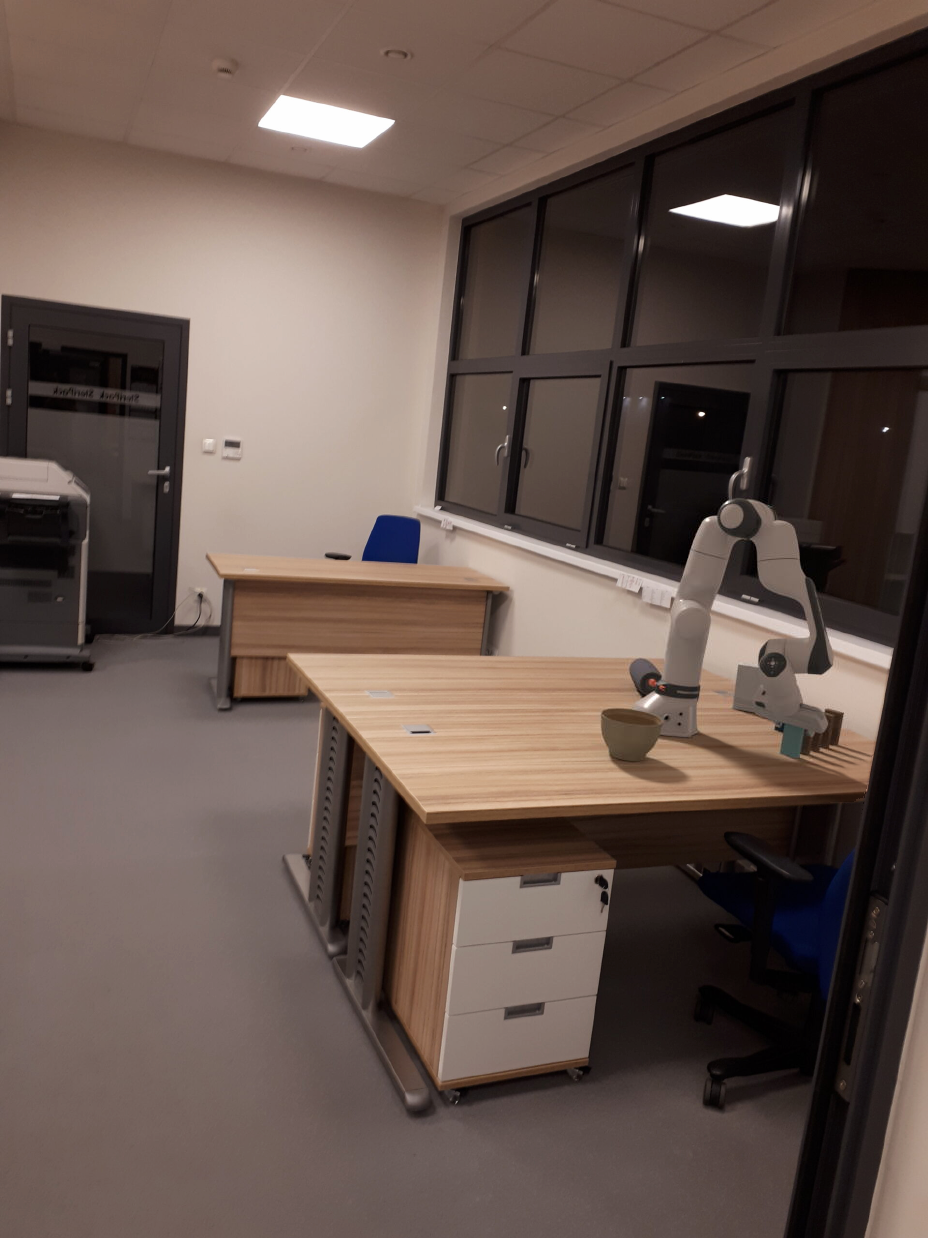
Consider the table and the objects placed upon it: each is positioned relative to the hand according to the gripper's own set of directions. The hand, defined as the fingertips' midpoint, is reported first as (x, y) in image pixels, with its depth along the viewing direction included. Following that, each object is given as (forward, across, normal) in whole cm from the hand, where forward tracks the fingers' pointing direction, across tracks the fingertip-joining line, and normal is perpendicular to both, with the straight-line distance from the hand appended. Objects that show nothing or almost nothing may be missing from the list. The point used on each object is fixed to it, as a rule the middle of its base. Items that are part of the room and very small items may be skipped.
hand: (795, 730), depth 266 cm
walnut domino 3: (+19, 0, -8) cm, 20 cm away
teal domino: (+5, 0, +6) cm, 7 cm away
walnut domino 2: (+14, 0, -4) cm, 14 cm away
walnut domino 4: (+23, 0, -13) cm, 26 cm away
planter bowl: (-28, +23, +39) cm, 54 cm away
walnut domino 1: (+9, 0, +1) cm, 9 cm away
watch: (+22, +13, -11) cm, 28 cm away
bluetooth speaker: (+21, +64, -10) cm, 69 cm away
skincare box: (+32, +34, -21) cm, 51 cm away
